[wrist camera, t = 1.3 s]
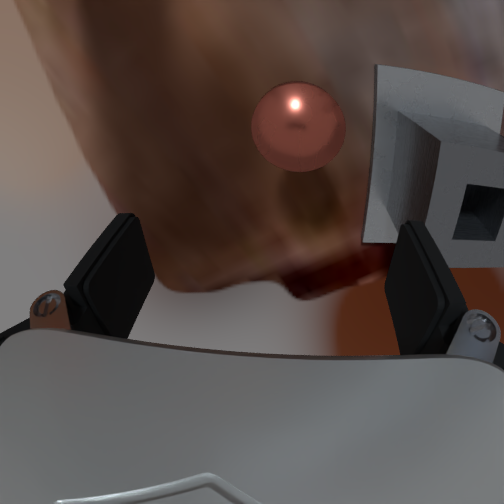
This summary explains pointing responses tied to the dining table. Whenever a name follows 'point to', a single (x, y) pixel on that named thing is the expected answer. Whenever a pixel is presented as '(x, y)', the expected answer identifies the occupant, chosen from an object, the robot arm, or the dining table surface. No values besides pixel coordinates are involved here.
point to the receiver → (437, 164)
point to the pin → (298, 126)
